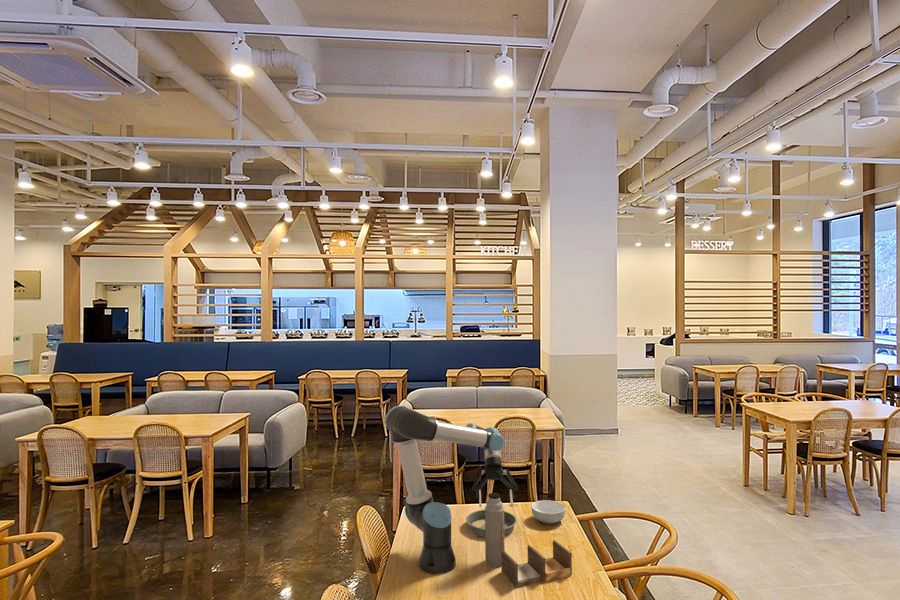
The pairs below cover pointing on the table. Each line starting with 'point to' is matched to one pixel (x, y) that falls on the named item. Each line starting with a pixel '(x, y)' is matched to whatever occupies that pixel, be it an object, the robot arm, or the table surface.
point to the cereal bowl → (548, 511)
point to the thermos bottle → (494, 530)
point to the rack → (537, 566)
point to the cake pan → (479, 515)
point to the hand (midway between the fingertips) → (496, 505)
